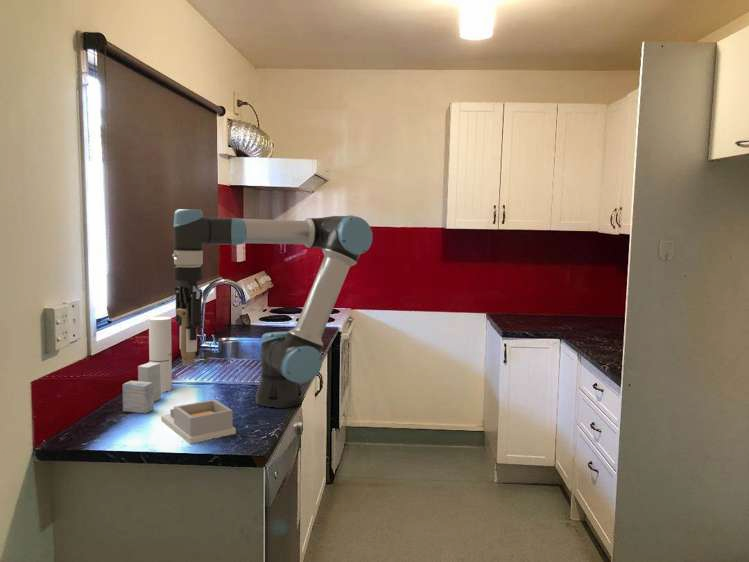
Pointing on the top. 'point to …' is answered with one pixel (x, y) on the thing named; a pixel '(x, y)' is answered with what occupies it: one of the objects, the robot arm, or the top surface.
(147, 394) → the medicine box
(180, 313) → the handle
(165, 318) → the cylindrical container
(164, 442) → the top surface
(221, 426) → the switch panel
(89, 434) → the top surface
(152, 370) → the skincare box
